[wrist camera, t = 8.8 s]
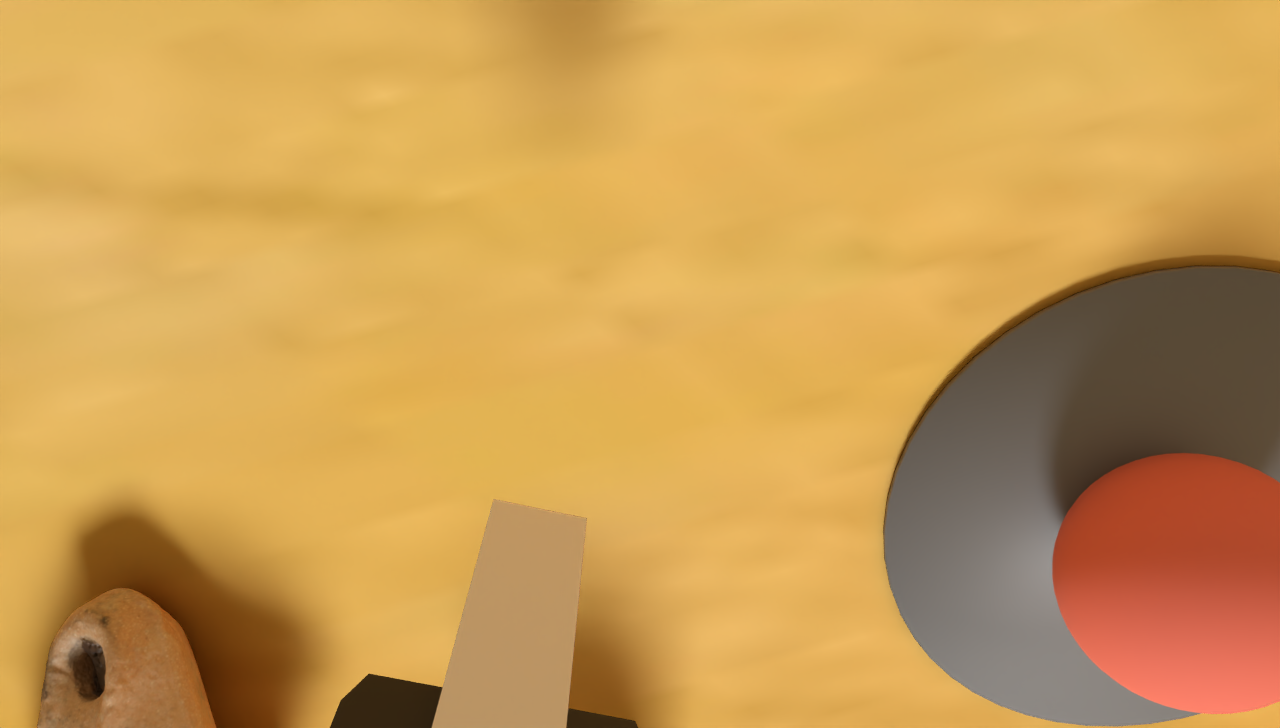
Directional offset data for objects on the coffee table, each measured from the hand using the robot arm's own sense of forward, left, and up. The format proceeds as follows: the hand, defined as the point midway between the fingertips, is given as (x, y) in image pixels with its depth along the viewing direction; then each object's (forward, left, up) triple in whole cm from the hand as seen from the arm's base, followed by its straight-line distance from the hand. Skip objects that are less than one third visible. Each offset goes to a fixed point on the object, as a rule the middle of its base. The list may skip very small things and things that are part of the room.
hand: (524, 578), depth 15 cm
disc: (+14, +5, -7) cm, 16 cm away
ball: (+13, +5, -5) cm, 15 cm away
